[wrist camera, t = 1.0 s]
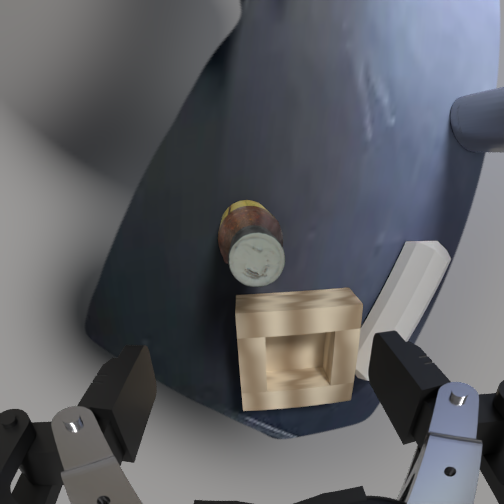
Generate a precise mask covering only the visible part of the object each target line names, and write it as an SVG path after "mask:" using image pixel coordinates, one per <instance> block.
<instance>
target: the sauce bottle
mask: <svg viewBox="0 0 504 504" xmlns="http://www.w3.org/2000/svg"><path fill="white" fill-rule="evenodd" d="M218 243H219V248H220V252H221V254H222V256H223V259H224V261H225V263H227V264H228V265H229V268H230V271H231V273H232V275H233V276H234V277H235V278H236V279H237V280H238V281H239V282H241V283H242V284H244V285H246V286H251V287H262V286H266V285H268V284H270V283H273V282H274V281H275V280H276V279H277V278H278V277H279V276H280V274H281V273H282V271H283V268H284V265H285V254H284V250H283V248H282V247H283V235H282V231H281V228H280V225H279V223H278V221H277V220H276V219H275V217H274V216H273V215H272V214H271V213H270V212H269V211H267V210H266V209H265V208H264V207H263V206H262V205H261V204H259V203H257V202H254V201H250V200H243V201H239V202H236V203H234V204H232V205H231V206H230V207H229V208H228V209H227V210H226V211H225V213H224V215H223V217H222V220H221V224H220V228H219V232H218Z"/></svg>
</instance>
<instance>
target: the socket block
mask: <svg viewBox="0 0 504 504" xmlns="http://www.w3.org/2000/svg"><path fill="white" fill-rule="evenodd" d="M362 309H363V303H362V302H361V301H360V300H359V299H358V298H357V297H356V295H355V294H354V293H353V292H352V291H351V290H350V289H349V288H338V289H325V290H311V291H297V292H282V293H265V294H247V295H236V308H235V316H236V330H237V343H238V356H239V368H240V381H241V392H242V404H243V411H255V410H271V409H283V408H294V407H304V406H313V405H321V404H328V403H335V402H342V401H348V400H351V396H352V390H353V383H354V377H355V370H356V362H357V355H358V347H359V338H360V329H361V320H362Z"/></svg>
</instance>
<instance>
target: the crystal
mask: <svg viewBox="0 0 504 504" xmlns="http://www.w3.org/2000/svg"><path fill="white" fill-rule="evenodd" d="M450 261H451V258H450V256H449V254H448V251H447V250H446V249H445V248H444V247H443V246H442V245H441V244H440V243H439V242H438V241H406V242H405V245H404V247H403V249H402V251H401V253H400V255H399V257H398V259H397V261H396V263H395V266H394V268H393V270H392V272H391V274H390V276H389V278H388V279H387V281H386V283H385V285H384V287H383V289H382V291H381V293H380V295H379V297H378V299H377V300H376V302H375V304H374V306H373V308H372V310H371V311H370V313H369V315H368V317H367V319H366V320H365V322H364V324H363V326H362V327H361V329H360V338H359V347H358V355H357V362H356V370H355V375H356V376H357V378H360V379H363V380H367V381H369V377H368V368H369V362H370V356H371V349H372V342H373V337H374V335H375V333H379V332H387V331H393V330H395V331H397V332H398V334H399V335H400V336H401V337H402V338H403V339H404V340H405V341H406V342H407V341H408V340H409V338H410V336H411V335H412V333H413V331H414V330H415V328H416V326H417V325H418V323H419V321H420V319H421V317H422V316H423V314H424V312H425V310H426V308H427V307H428V305H429V303H430V301H431V299H432V297H433V295H434V293H435V292H436V290H437V288H438V286H439V284H440V282H441V280H442V278H443V276H444V274H445V271H446V269H447V267H448V265H449V263H450Z"/></svg>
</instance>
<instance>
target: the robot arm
mask: <svg viewBox="0 0 504 504" xmlns="http://www.w3.org/2000/svg"><path fill="white" fill-rule="evenodd" d="M451 126H452V129H453V132H454V135H455V137H456V139H457V140H458V142H459V143H460V144H461V145H462V146H463V147H464V148H465V149H467V150H469V151H471V152H504V87H501V88H497V89H492V90H488V91H484V92H479V93H475V94H471V95H467V96H463V97H460V98H458V99H457V100H456V101H455V102H454V104H453V106H452V108H451ZM368 377H369V382H370V384H371V386H372V388H373V390H374V392H375V394H376V395H377V397H378V399H379V401H380V403H381V404H382V406H383V408H384V410H385V412H386V413H387V415H388V417H389V419H390V421H391V423H392V424H393V426H394V428H395V430H396V432H397V434H398V435H399V437H400V439H401V441H402V443H403V445H404V444H407V443H411V442H415V441H416V443H417V444H418V446H417V449H416V451H415V454H414V456H413V459H412V462H411V465H410V468H409V471H408V473H407V476H406V478H405V481H404V483H403V486H402V488H401V491H400V493H399V495H398V497H397V499H396V500H395V499H391V498H387V497H380V496H366V495H365V492H364V489H363V486H360V487H355V488H350V489H345V490H341V491H335V492H329V493H323V494H320V495H318V496H315V497H312V498H309V499H306V500H303V501H300V502H297V503H294V504H473V503H474V498H475V493H476V487H477V482H478V476H479V469H480V470H481V472H482V474H483V476H484V477H485V479H486V481H487V483H488V485H489V486H490V488H491V490H492V492H493V493H494V495H495V497H496V499H497V501H498V503H499V504H504V380H503V381H502V382H501V383H500V385H499V387H498V389H497V392H496V393H492V394H480V395H478V393H477V391H476V390H475V389H474V388H473V387H471V386H469V385H468V384H465V383H461V382H450V381H449V379H448V378H447V377H446V376H445V375H444V374H443V373H442V371H441V370H440V369H439V368H438V367H437V366H436V365H435V364H434V363H432V360H431V359H430V358H429V357H427V356H426V354H425V353H424V351H423V350H422V349H421V348H420V347H418V346H416V345H415V344H413V343H411V342H409V341H407V342H406V341H405V340H404V339H403V338H402V337H401V336H400V335H399V334H398V332H397V331H395V330H393V331H387V332H379V333H375V335H374V337H373V342H372V349H371V356H370V362H369V368H368ZM155 397H156V380H155V375H154V371H153V367H152V363H151V358H150V353H149V350H148V347H147V346H145V345H126V346H125V347H124V348H123V350H122V351H121V353H120V355H119V356H118V358H112V359H110V360H109V361H108V362H106V363H105V364H104V365H103V366H102V367H101V369H100V370H99V372H98V373H97V376H96V377H95V378H94V380H93V383H91V385H90V386H89V388H88V389H87V391H86V393H85V394H84V396H83V397H82V399H81V401H80V402H79V404H78V406H73V407H68V408H65V409H63V410H61V411H59V412H58V413H57V414H56V415H55V416H54V417H53V419H52V422H35V423H32V422H31V420H30V419H29V417H28V415H27V413H26V412H24V411H23V410H19V409H10V410H6V411H4V412H2V413H0V504H55V503H56V501H57V498H58V495H59V493H60V490H61V487H62V485H64V486H65V489H66V492H67V495H68V497H69V500H70V502H71V504H142V502H141V501H140V499H139V497H138V496H137V494H136V493H135V491H134V489H133V488H132V486H131V484H130V483H129V481H128V479H127V478H126V476H125V474H124V472H123V471H122V469H121V467H120V465H121V462H122V461H126V462H134V461H135V458H136V455H137V452H138V449H139V446H140V442H141V439H142V436H143V433H144V430H145V427H146V424H147V421H148V418H149V415H150V412H151V409H152V406H153V403H154V400H155ZM18 468H19V469H20V470H21V472H22V474H21V475H20V477H19V479H18V482H17V484H16V486H15V488H14V490H13V492H12V494H11V491H10V485H11V482H12V480H13V478H14V476H15V474H16V472H17V470H18ZM194 504H252V503H245V502H239V501H202V500H195V501H194Z"/></svg>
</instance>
